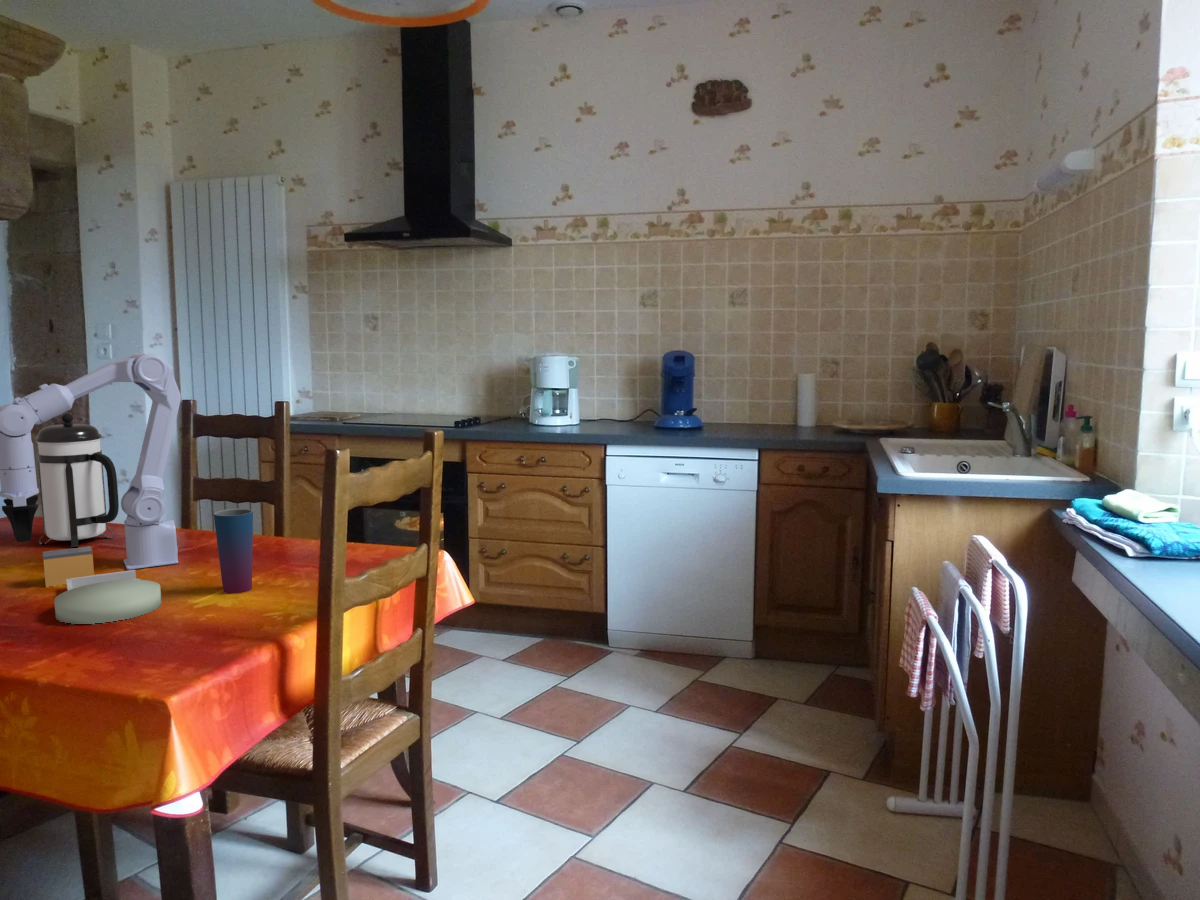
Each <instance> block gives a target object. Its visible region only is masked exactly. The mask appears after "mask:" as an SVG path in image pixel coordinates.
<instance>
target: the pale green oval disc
mask: <svg viewBox="0 0 1200 900" xmlns="http://www.w3.org/2000/svg"><path fill="white" fill-rule="evenodd" d="M136 571H137V570H136V569H130V570H124V571H123V570H121V571H117V572H116V571H115V572H108V573H101V574H94V575H92V576H85V577H77V578H70V579H66V590H65V591H63V592H62V593H60V594H58V595H57V596H55V598H54V610H55V611H54V614H55V618H56V619H55V620H57V621H58V620H59V621H58V622H60V623H62V622H65V623H64V624H66V623H71V624H70V625H74V624H92V625H96V624H95V623H103V624H106V623H105V622H111V623H114V622H113V621H117V622H119V621H118V620H123V621H126V620H125V619H127V620H130V618H131V619H135V618H138V616H139V617H141V615H142V616H144V614H145V615H146V614H147V615H148V614H149V613H151V612H154V611H155V610H157V609H159V606H161V605H162V593H161V585H160V584H159V583H158V582H156V581H152V580H146V579H140V578H137V573H136ZM153 610H154V611H153ZM134 617H135V618H134Z"/></svg>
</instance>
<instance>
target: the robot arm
mask: <svg viewBox="0 0 1200 900" xmlns="http://www.w3.org/2000/svg"><path fill="white" fill-rule="evenodd" d="M112 383H134V384H135V385H137V386H138V387H140V388H142V390H143V391H144V392H145V393H146V395H147V396H148V397H149V398H150V399H151V402H152V403H151V406H150V411H149V415H148V420H147V424H146V428H145V432H144V436H143V440H142V446H141V450H140V453H139V459H138V462H137V467H136V471H135V474H134V476H133V478H132V479H131V481H130V483H129V487H128V489H127V490H126V492H124V494H123V495H122V498H121V499H120V508H121V510H122V512H124V514H126V518H125V520H124V522H123V523H124V535H125V536H124V537H125V550H126V558H125V559H123V563H124V565H125V568H126V570H127V571H130V570H137V569H143V568H151V567H152V568H153V567H159V566H160V567H161V566H166V565H174V564H178V563H179V558H178V553H179V552H178V551H179V550H178V549H179V548H178V545H177V544H178V542H177V532H176V531H177V530H176V524H175V520H174V519H164V515H165V513H166V512H165V511H166V504H165V500H164V494H165V486H164V485H165V484H164V481H163V479H164V474H165V470H166V466H167V460H168V459H169V458H168V457H169V453H170V449H171V444H172V440H173V435H174V431H175V427H176V422H177V418H178V413H179V408H180V405H181V402H182V401H181V400H182V395H181V392H180V390H179V387H178V384H177V381H176V379H175V376H174V369H173V367H172V366H171V365H170V364H169V363H168V362H167V361H166V360H165V358H163V357H162V356H160V355H159V354H155V353H142V352H136V353H135V352H134V353H132V354H129V356H127V357H120V358H118V359H116V360H113V361H111V362H108V363H106V364H104V365H102V366H100V367H98V368H97V369H95V370H92V371H90V372H89V373H87V374H85V375H82V376H81V377H79V378H77V379H75V380H72V382H69V383H67V384H66V385H62V384H57V383H51V384H49V385H48V384H47V383H43V384H41V385H39V386H38V388H39V389H38V390H36V391H34V392H32V393H30V394H27V395H25V396H23V397H21V398H20V397H19V396H17V397H15V398H13V399H12V400H13V402H14V403H15V404H13V403H11V404H9V403H7V404H3V405H1V406H0V498H4V499H3V500H2V501H3V503H4V504H5V505H2V506H1V511H2V512H3V513H4V514H5V516H6V517H7V519H8V521H9V523H10V526H11V528H12V531H13V535H14V538H15V541H17V543H24V542H30V541H31V540H32V536H33V534H32V533H33V525H34V518H35V515H36V512H37V510H38V508H39V504H38V503H37V502H38V499H39V493H40V490H39V487H38V483H37V481H38V479H37V471H36V461H35V451H34V443H33V442H32V433H31V432H32V430H33V428H34V426H35V425H41V424H43V423H45V422H47V421H49V420H51V419H53V418H56V417H58V416H59V415H61V414H63V413H64V414H65V413H66V412H68V411H70V410H71V409H73V405H74V402H75V400H77V399H79V398H81V397H84V396H86V395H88V394H90V393H93V392H96V391H97V390H100V389H102V388H104V387H107V386H109V385H110V384H112Z"/></svg>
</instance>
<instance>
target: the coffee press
mask: <svg viewBox="0 0 1200 900" xmlns="http://www.w3.org/2000/svg"><path fill="white" fill-rule="evenodd" d="M60 419H61V420H62V422H63V424H52V425H48V426H45V427H43V428H41V429H40V430H39V432H38V433H37V436H35V438H34V439H35V442H36V443H37V447H38V453H37V461H38V463H37V464H38V474H39V486H40V487H39V488H40V497H41V511H42V522H43V534H42V536H40V538H39V540H38V543H39V545H41V544H42V543H43V542H41V539H42V538H43V537H44V536H45V535H46V536H47V537H48V538H49V539H48V540H47V541H45V542H44V543H45V545H47V544H48V543H49V542H50V541H51V540H53V541H54V540H55V541H70V547H78V546H79V544H80V543H79V542H80V540H85V539H91V538H95V537H98V536H103V537H105V538H106V539H108V540H110V539H109V538H112V539H113V538H114V536H115V533H114V532H113V531H112V530H111V528H110V527H109V525H108V523H111V522H114V520H115V519H116V518H117V516H118V514H119V507H120V506H119V501H120V500H119V488H118V478H117V472H116V466H115V465H114V463H113V460H112V459H111V458H110V457H109V456H107V455H105V454H103V452H102V451H103V450H102V449H101V439H102V433H100V432H99V430H98V429H97V427H95V426H93V425H91V424H88V423H87V424H86V423H73V421H74V420H73V419H74V416H73V415H72V414H71V413H69V412H68V413H66V412H65V413H64V414H63V415H62V416H61V418H60ZM104 468H105V472H106V479H107V480H106V482H107V493H108V494H107V495H108V507H109V508H108V512H107V503H106V490H105V478H104ZM106 529H107V530H108V531H109V532H110V533H111V534H112V536H108V535H107V534H104V532H106ZM41 546H42V545H41ZM79 547H80V546H79ZM79 547H78V548H79Z"/></svg>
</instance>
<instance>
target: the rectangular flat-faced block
mask: <svg viewBox="0 0 1200 900" xmlns="http://www.w3.org/2000/svg"><path fill="white" fill-rule="evenodd" d="M42 559H43V560H42V561H43V568H44V569H43V570H44V581H45V588H50V587H49V586H53V587H57V586H56V585H60V586H63V585H62V584H66V579H70V578H77V577H85V576H92V575H95V571H94V569H95V568H94V556H93V549H92V545H87V546H81V547H80V546H79V547H78V548H62V549H54V550H46V551H42Z"/></svg>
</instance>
